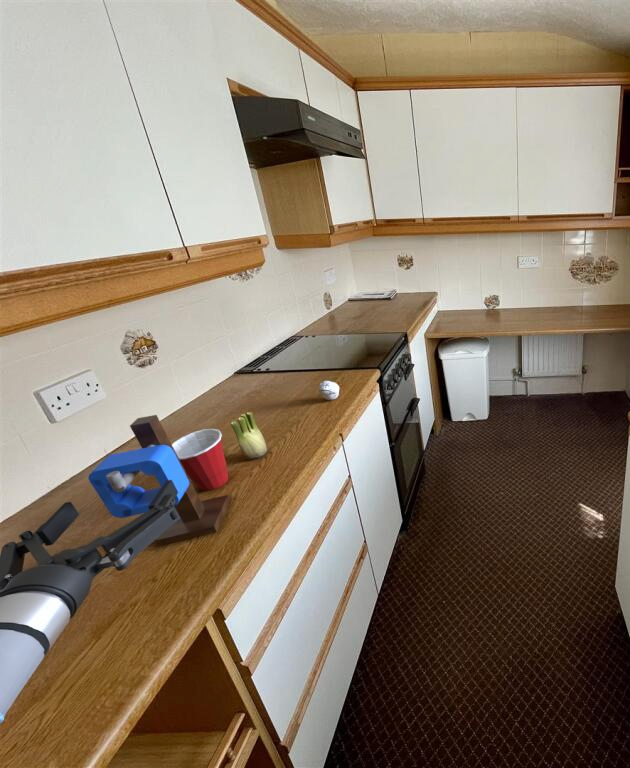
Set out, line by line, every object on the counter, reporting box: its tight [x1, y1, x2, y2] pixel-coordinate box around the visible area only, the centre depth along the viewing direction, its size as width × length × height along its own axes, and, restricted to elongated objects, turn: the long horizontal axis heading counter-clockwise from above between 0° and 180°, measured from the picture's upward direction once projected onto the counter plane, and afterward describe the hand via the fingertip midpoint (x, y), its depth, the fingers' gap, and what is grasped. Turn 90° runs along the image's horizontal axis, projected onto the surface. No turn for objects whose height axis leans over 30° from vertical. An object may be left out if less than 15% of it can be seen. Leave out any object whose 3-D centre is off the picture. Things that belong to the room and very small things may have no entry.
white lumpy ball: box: [318, 380, 340, 401], centre depth 132 cm, size 6×7×7 cm
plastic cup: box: [171, 428, 229, 492], centre depth 94 cm, size 11×11×12 cm
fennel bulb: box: [230, 411, 268, 460], centre depth 104 cm, size 6×5×12 cm
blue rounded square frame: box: [87, 445, 189, 519], centre depth 71 cm, size 5×10×10 cm, turn 108°
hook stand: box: [106, 414, 231, 547], centre depth 76 cm, size 19×10×25 cm, turn 18°
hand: (123, 497), depth 66 cm, fingers open, 13 cm apart
